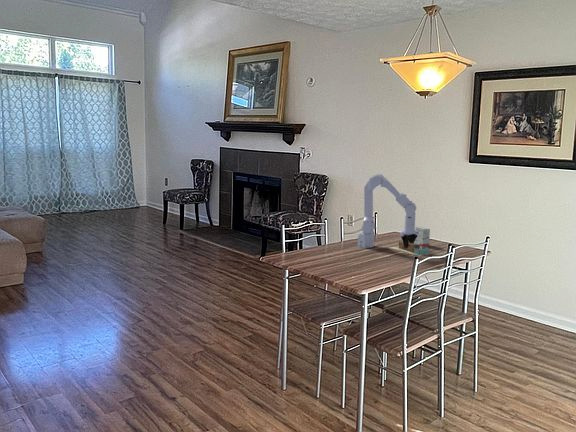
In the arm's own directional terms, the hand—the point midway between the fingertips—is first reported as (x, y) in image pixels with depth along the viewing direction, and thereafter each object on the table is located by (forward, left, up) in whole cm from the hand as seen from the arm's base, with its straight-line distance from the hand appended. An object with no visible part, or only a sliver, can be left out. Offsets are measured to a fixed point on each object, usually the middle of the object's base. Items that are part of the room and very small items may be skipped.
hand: (408, 247), depth 292 cm
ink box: (+17, +4, -3) cm, 18 cm away
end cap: (0, -9, -2) cm, 10 cm away
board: (0, -1, -3) cm, 3 cm away
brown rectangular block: (0, 0, -2) cm, 2 cm away
